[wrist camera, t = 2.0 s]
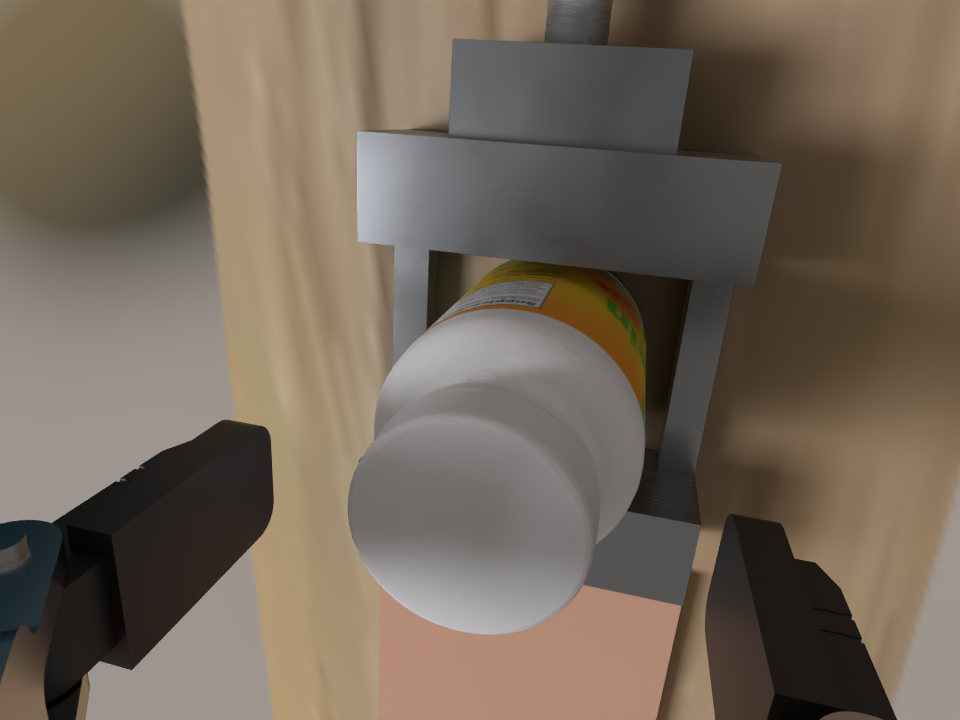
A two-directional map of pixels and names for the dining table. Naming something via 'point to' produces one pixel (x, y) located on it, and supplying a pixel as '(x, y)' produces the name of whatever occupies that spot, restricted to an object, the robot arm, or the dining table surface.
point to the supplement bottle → (505, 449)
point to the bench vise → (581, 226)
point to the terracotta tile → (530, 663)
